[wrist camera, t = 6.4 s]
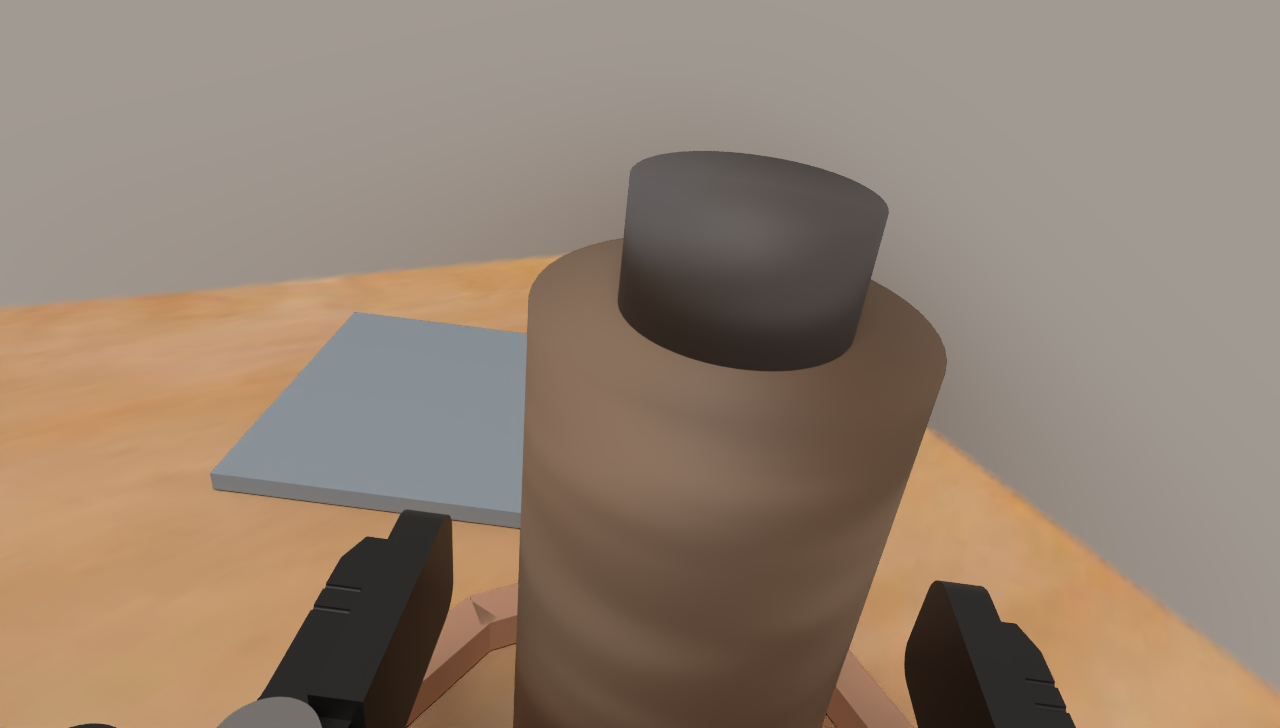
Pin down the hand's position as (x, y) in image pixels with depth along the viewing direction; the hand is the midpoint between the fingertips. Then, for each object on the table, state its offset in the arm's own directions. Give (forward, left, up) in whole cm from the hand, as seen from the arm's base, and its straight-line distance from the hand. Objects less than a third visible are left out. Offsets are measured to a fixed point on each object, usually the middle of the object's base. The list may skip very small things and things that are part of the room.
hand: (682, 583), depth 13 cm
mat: (-8, +14, -7) cm, 17 cm away
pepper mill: (0, -1, -7) cm, 7 cm away
